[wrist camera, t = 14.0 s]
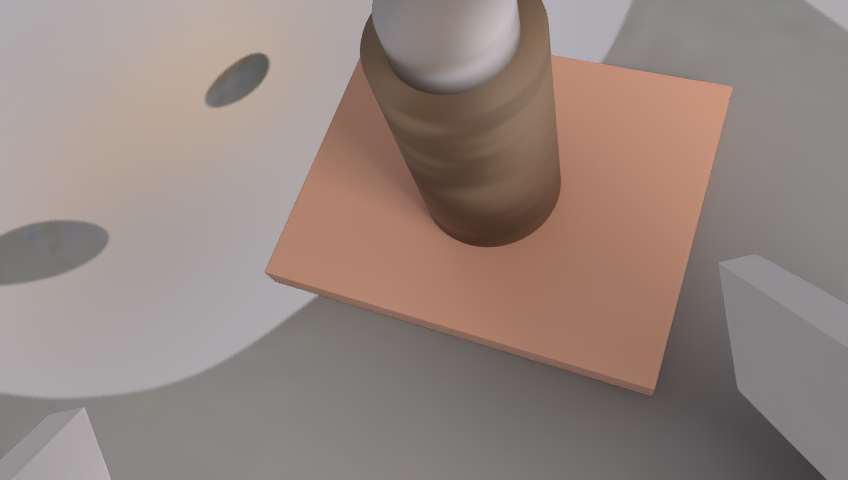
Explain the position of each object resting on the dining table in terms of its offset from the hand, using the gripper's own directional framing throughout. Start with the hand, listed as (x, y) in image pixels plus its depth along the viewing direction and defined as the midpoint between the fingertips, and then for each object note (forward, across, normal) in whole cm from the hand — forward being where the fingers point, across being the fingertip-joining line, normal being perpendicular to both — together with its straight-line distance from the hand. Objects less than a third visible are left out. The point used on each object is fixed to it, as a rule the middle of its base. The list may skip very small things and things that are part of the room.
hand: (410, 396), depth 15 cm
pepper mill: (+24, +4, 0) cm, 24 cm away
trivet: (+25, +4, -1) cm, 26 cm away
